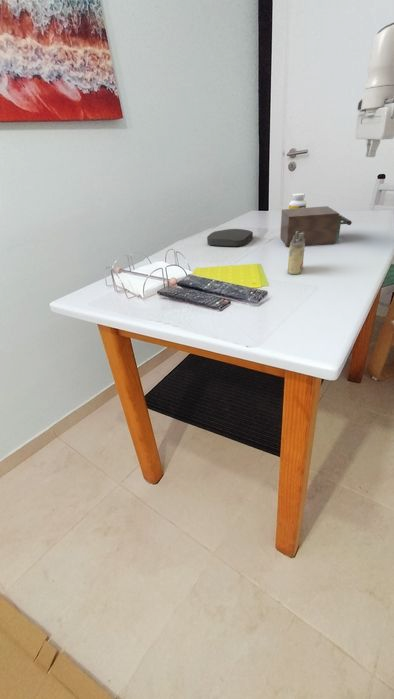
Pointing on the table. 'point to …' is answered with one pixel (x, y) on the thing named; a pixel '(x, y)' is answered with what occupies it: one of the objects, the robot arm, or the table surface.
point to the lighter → (296, 253)
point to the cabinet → (310, 225)
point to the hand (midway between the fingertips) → (370, 157)
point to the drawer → (345, 221)
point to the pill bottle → (297, 201)
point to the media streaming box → (230, 237)
